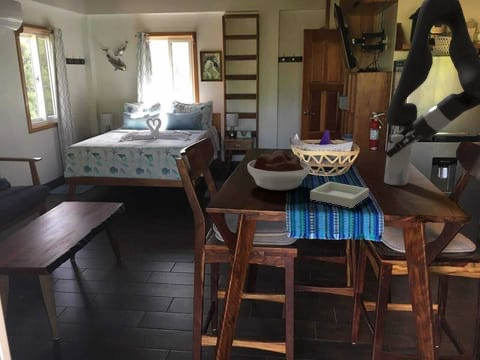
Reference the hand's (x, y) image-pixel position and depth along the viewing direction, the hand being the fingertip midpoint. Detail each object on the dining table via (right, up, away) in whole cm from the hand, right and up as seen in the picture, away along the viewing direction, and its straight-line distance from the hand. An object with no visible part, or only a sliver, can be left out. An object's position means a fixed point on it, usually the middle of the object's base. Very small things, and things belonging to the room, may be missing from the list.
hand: (390, 154), depth 140 cm
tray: (-15, -16, +9) cm, 24 cm away
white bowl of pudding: (-37, -12, +24) cm, 45 cm away
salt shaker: (+2, -6, +1) cm, 6 cm away
